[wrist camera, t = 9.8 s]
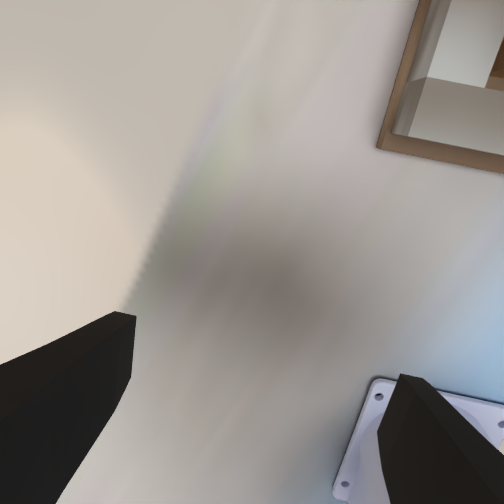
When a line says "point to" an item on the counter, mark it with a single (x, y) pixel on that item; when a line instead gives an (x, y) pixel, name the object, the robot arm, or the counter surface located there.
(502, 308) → the counter surface
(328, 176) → the counter surface
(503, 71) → the peg
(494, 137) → the socket block
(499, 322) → the counter surface
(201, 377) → the counter surface
